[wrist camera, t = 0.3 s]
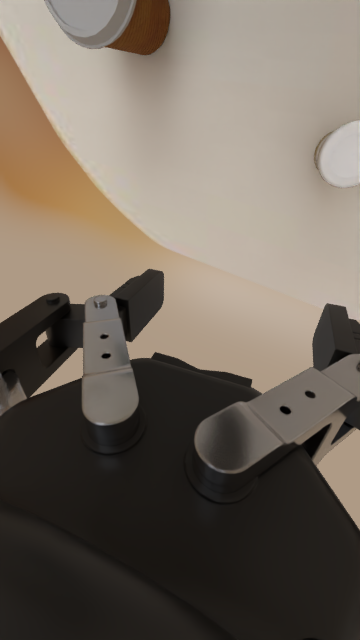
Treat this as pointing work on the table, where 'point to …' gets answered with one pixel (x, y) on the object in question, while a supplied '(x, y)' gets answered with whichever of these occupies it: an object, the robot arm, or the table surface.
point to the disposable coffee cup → (113, 23)
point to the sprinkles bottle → (340, 156)
